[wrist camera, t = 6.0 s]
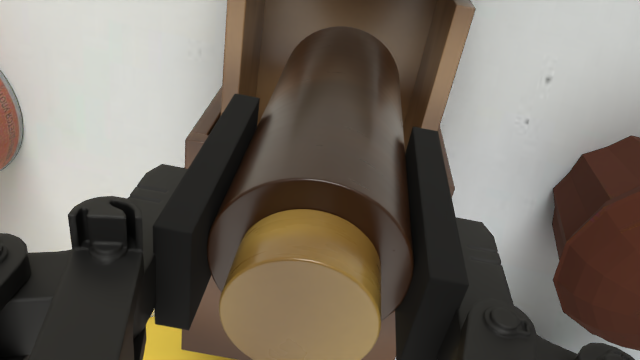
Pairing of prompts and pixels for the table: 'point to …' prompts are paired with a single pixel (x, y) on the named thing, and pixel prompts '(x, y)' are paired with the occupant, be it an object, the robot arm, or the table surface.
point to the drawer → (361, 13)
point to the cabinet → (206, 323)
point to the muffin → (601, 242)
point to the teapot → (169, 344)
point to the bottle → (318, 208)
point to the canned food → (9, 124)
